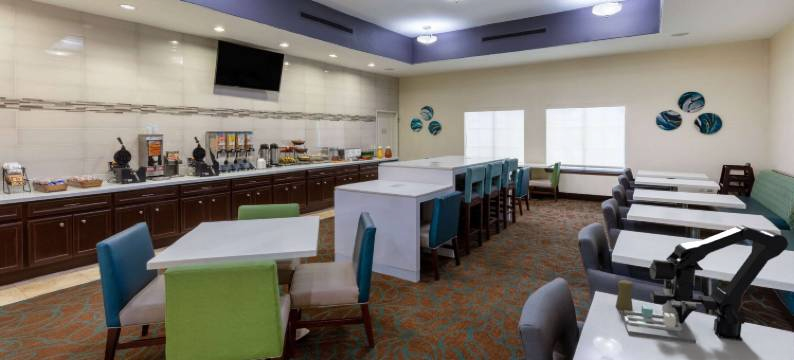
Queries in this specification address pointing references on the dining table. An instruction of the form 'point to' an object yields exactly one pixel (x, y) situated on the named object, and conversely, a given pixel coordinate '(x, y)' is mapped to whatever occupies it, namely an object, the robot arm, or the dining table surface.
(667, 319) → the fader cap
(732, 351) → the dining table surface
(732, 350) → the dining table surface
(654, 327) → the console board
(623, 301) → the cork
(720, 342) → the dining table surface
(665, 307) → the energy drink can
